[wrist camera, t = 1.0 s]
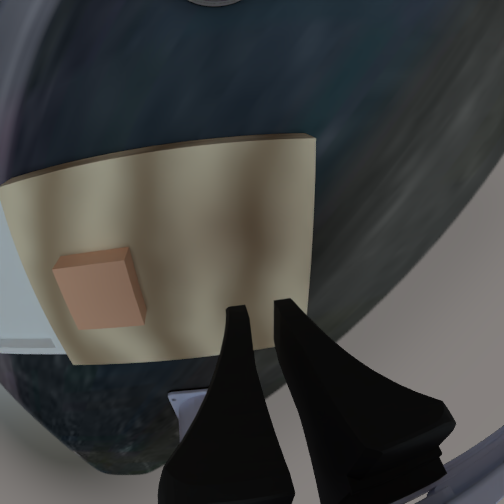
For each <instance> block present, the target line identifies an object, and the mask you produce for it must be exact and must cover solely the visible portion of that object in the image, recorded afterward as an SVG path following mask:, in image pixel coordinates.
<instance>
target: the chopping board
mask: <svg viewBox="0 0 504 504" xmlns="http://www.w3.org/2000/svg"><path fill="white" fill-rule="evenodd" d="M315 161H316V138H314V137H312V136H310V135H308V134H305V133H290V134H266V135H249V136H235V137H224V138H213V139H203V140H194V141H186V142H178V143H171V144H164V145H157V146H150V147H144V148H138V149H132V150H126V151H121V152H116V153H110V154H105V155H100V156H96V157H91V158H86V159H82V160H77V161H73V162H69V163H65V164H61V165H57V166H53V167H49V168H45V169H41V170H38V171H34V172H31V173H27V174H24V175H20V176H17V177H14V178H11V179H9V180H8V181H6V182H5V183H3V184H2V185H0V201H1V204H2V208H3V211H4V214H5V217H6V221H7V224H8V227H9V230H10V233H11V236H12V238H13V241H14V244H15V247H16V249H17V252H18V255H19V257H20V260H21V262H22V265H23V267H24V270H25V272H26V274H27V277H28V279H29V281H30V284H31V286H32V288H33V290H34V293H35V295H36V297H37V299H38V301H39V303H40V305H41V307H42V309H43V311H44V313H45V315H46V317H47V319H48V321H49V323H50V325H51V327H52V329H53V331H54V332H55V334H56V336H57V338H58V340H59V341H60V343H61V345H62V347H63V348H64V350H65V352H66V354H67V355H68V357H69V359H70V360H71V362H72V363H73V365H94V364H121V363H139V362H154V361H166V360H177V359H188V358H197V357H206V356H214V355H220V351H221V346H222V342H223V337H224V331H225V324H226V309H227V308H228V307H230V306H238V305H246V308H247V311H248V315H249V318H250V326H251V334H252V342H253V350H258V349H264V348H270V347H275V344H274V300H280V299H287V298H291V299H292V300H293V301H294V302H295V303H296V304H297V305H298V306H299V308H300V309H301V310H302V311H303V312H304V313H305V314H306V315H307V306H308V294H309V282H310V268H311V254H312V237H313V218H314V195H315ZM123 247H129V249H130V253H131V257H132V260H133V264H134V268H135V272H136V275H137V279H138V282H139V286H140V289H141V292H142V296H143V299H144V302H145V306H146V309H147V311H146V318H145V325H141V326H129V327H117V328H103V329H88V330H78V328H77V326H76V324H75V321H74V319H73V317H72V315H71V313H70V311H69V309H68V307H67V304H66V302H65V300H64V298H63V295H62V293H61V291H60V288H59V286H58V283H57V281H56V279H55V276H54V274H53V271H52V269H53V267H54V265H55V264H56V262H57V261H58V259H59V257H60V256H65V255H72V254H79V253H86V252H94V251H101V250H108V249H115V248H123Z"/></svg>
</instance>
